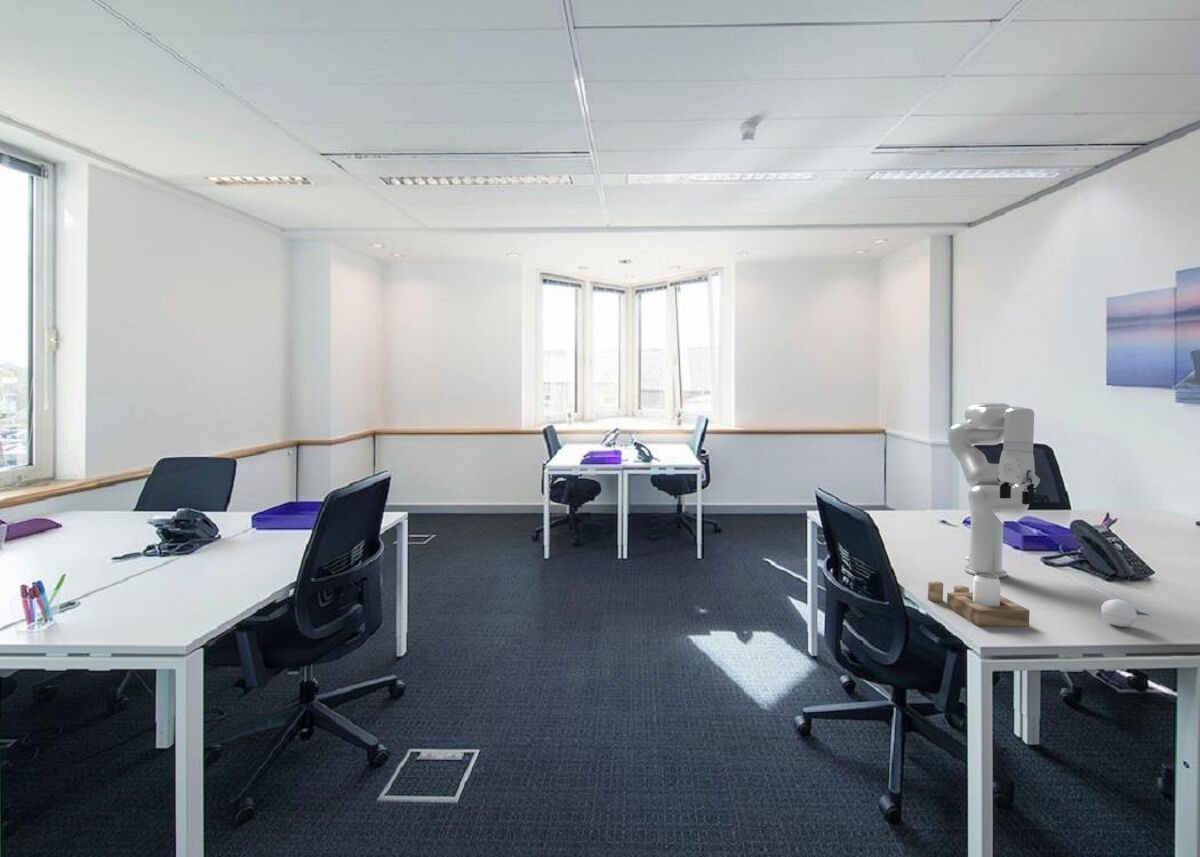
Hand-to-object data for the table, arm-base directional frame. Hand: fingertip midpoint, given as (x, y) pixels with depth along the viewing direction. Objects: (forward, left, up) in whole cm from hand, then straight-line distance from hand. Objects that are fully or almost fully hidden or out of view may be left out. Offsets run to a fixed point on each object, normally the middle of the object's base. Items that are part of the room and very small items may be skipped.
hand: (1016, 501), depth 176 cm
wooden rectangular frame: (+17, -20, -30) cm, 40 cm away
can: (+17, -20, -31) cm, 40 cm away
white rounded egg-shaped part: (+24, +10, -31) cm, 40 cm away
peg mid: (+4, -27, -30) cm, 41 cm away
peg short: (+4, -19, -30) cm, 36 cm away
